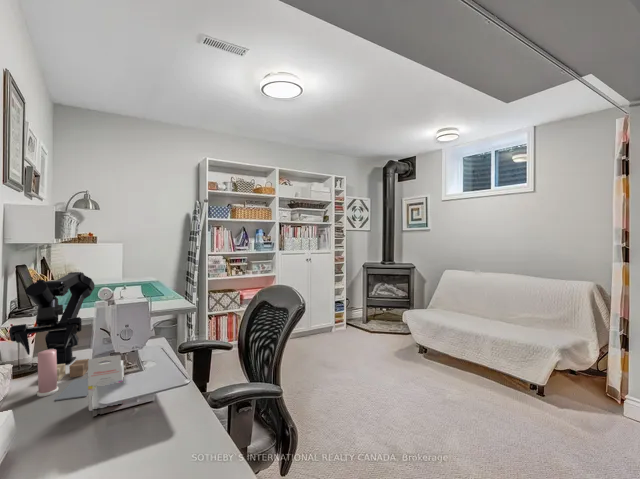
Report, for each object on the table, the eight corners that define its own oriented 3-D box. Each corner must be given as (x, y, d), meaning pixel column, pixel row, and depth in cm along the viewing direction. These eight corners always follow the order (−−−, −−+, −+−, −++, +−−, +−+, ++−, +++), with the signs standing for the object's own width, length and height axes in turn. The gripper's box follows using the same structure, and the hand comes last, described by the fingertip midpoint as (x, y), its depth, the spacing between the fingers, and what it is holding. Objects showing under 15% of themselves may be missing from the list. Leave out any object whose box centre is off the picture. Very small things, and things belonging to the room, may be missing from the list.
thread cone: (42, 390, 106) (41, 350, 106) (61, 387, 108) (60, 348, 108) (33, 397, 101) (32, 355, 101) (54, 395, 103) (53, 353, 103)
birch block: (48, 376, 117) (48, 365, 117) (65, 374, 118) (65, 363, 118) (41, 382, 112) (41, 370, 112) (59, 380, 114) (59, 369, 113)
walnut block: (76, 370, 121) (76, 360, 121) (89, 369, 123) (89, 358, 123) (69, 377, 116) (69, 366, 116) (82, 376, 117) (82, 365, 117)
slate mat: (73, 381, 113) (73, 379, 113) (100, 377, 115) (100, 376, 115) (54, 401, 99) (54, 399, 99) (86, 396, 102) (86, 395, 102)
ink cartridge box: (124, 397, 101) (124, 349, 101) (122, 404, 97) (122, 355, 97) (91, 403, 98) (90, 354, 98) (87, 411, 93) (86, 360, 93)
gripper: (9, 301, 107) (5, 344, 98) (80, 294, 118) (82, 332, 110) (13, 320, 113) (9, 362, 105) (80, 312, 125) (82, 349, 116)
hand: (47, 350), depth 109 cm, fingers open, 9 cm apart
